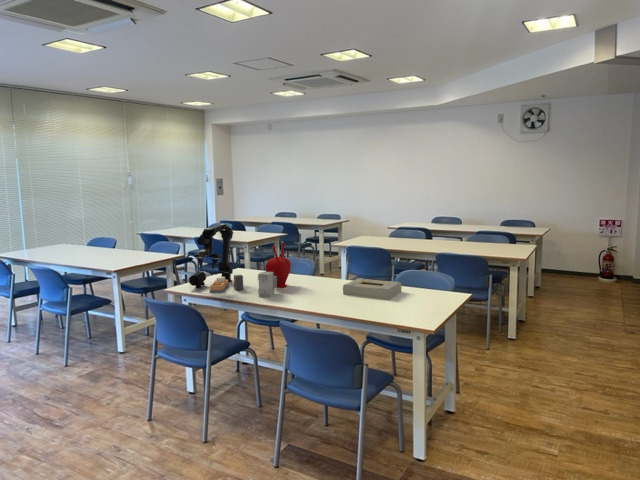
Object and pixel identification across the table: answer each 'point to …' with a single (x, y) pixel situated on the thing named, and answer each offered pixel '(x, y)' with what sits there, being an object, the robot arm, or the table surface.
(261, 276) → the circuit breaker
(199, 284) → the security camera
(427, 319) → the table surface
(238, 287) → the dark grey block
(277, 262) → the red antenna pod
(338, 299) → the table surface
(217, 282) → the orange and grey housing
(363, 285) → the box
